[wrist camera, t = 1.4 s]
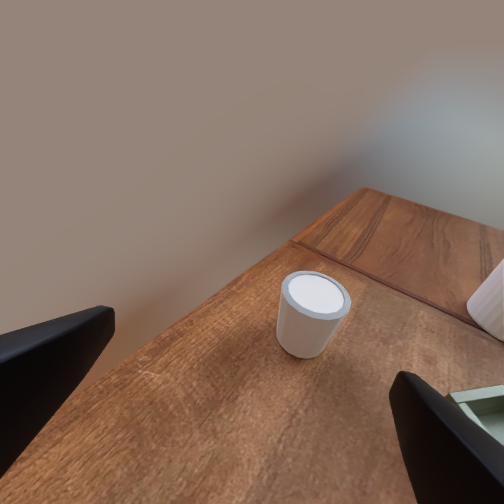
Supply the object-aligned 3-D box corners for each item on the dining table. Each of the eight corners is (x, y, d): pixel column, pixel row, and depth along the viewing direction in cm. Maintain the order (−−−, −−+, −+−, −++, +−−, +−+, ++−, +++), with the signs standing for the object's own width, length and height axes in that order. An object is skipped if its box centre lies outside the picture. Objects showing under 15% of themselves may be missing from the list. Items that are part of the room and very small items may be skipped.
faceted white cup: (339, 334, 30) (361, 291, 26) (314, 377, 25) (335, 332, 21) (289, 304, 33) (302, 261, 29) (258, 337, 28) (268, 291, 24)
